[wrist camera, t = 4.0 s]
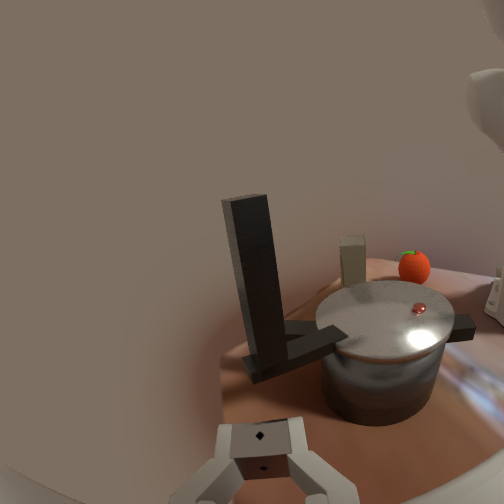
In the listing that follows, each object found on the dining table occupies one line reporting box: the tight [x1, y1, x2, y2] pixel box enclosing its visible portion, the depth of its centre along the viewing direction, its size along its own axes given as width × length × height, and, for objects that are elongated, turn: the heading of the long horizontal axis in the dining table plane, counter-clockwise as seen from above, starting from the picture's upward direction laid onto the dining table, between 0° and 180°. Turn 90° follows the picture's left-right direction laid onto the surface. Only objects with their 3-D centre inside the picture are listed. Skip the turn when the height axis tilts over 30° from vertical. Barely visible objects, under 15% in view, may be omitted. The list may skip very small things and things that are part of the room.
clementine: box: [398, 251, 430, 285], centre depth 49 cm, size 8×7×7 cm
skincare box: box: [340, 235, 366, 289], centre depth 46 cm, size 6×4×12 cm
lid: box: [221, 194, 454, 384], centre depth 23 cm, size 22×15×14 cm, turn 109°
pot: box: [284, 314, 476, 426], centre depth 28 cm, size 26×14×9 cm, turn 69°
